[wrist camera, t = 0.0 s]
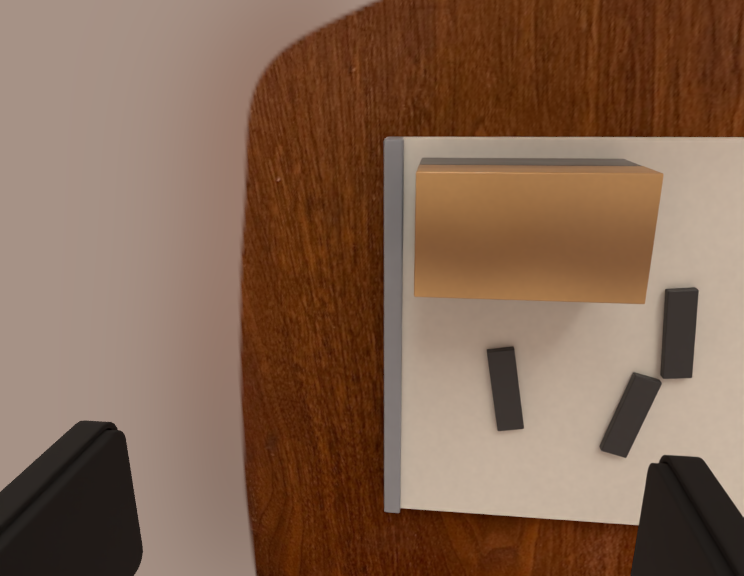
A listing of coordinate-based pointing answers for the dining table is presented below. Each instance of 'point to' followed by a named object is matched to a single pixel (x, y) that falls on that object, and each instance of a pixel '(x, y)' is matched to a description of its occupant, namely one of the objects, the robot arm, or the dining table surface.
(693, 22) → the dining table surface
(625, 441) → the marker stroke
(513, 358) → the block
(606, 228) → the eraser
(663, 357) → the bar
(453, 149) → the whiteboard
